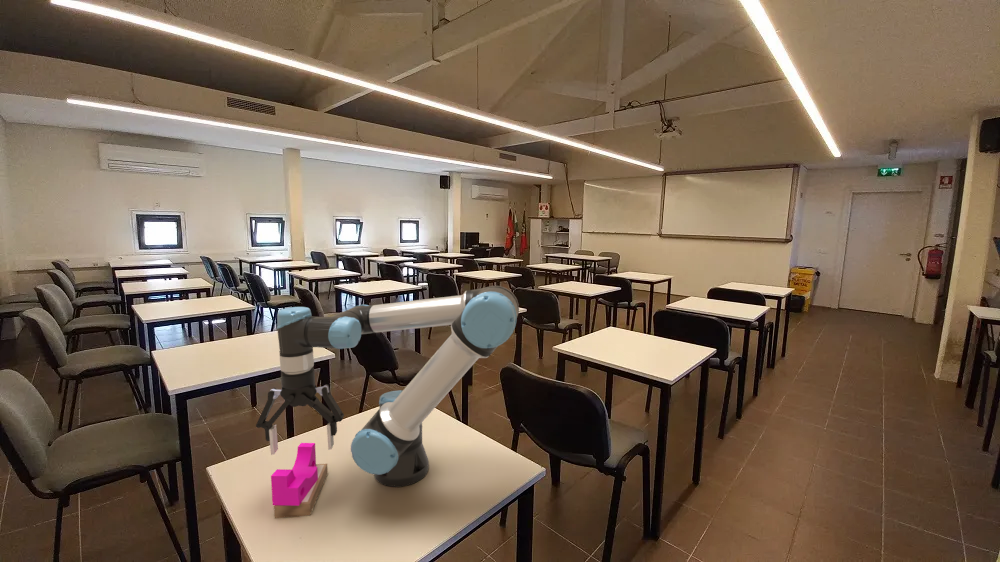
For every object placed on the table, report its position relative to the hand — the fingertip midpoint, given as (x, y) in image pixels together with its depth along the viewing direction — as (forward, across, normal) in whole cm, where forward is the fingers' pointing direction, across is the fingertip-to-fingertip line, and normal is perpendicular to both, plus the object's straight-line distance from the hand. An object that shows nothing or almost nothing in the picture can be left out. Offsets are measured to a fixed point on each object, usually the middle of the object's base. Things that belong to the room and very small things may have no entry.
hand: (303, 449), depth 105 cm
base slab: (+12, +1, 0) cm, 12 cm away
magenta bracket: (+10, +1, +1) cm, 10 cm away
